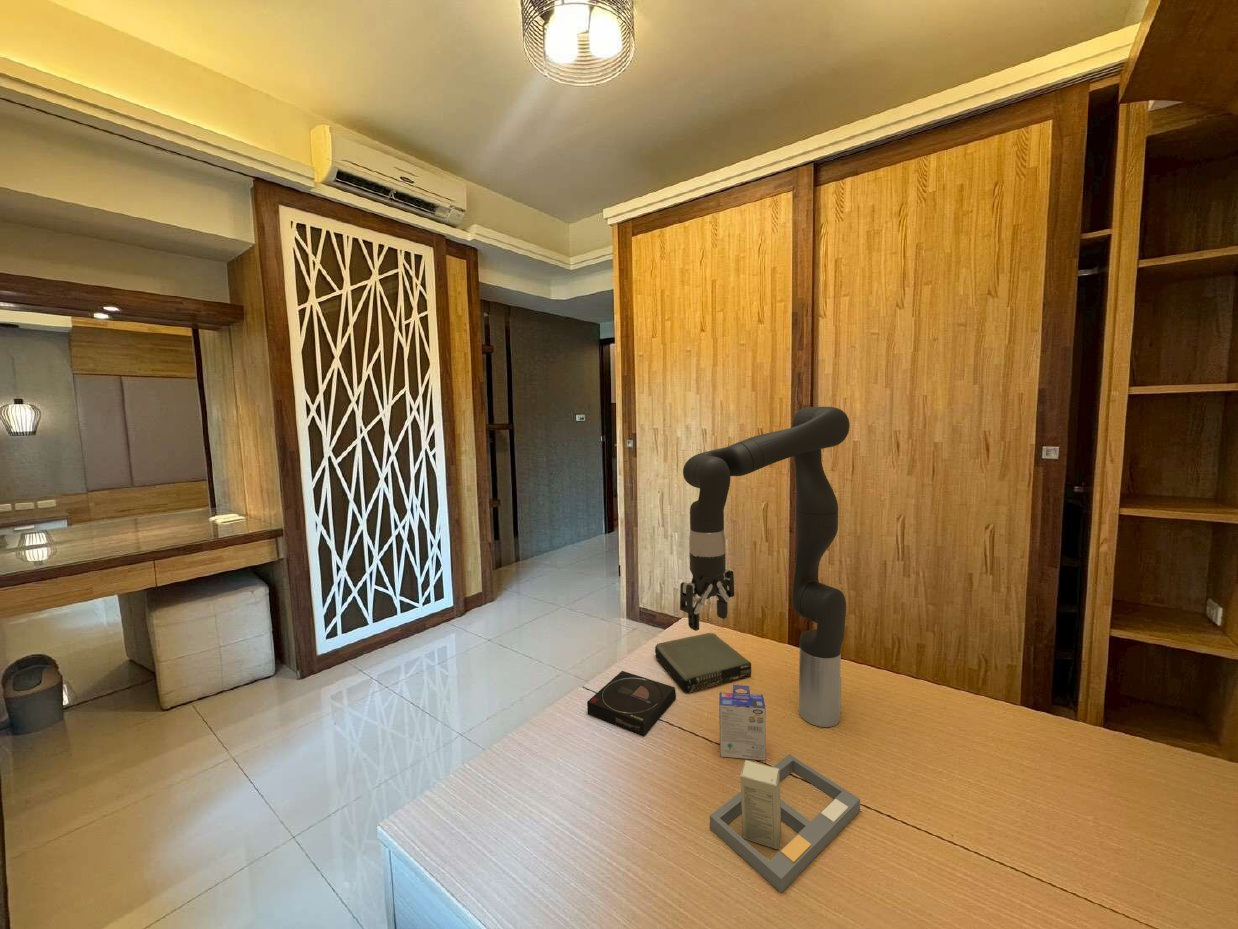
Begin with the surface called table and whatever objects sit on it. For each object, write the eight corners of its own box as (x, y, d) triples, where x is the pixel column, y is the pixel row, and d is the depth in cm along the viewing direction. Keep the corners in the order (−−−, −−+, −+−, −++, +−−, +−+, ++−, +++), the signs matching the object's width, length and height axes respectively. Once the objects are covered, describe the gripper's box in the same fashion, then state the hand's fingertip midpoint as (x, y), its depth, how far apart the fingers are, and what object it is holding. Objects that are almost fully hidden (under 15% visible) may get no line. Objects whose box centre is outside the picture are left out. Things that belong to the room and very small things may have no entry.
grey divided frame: (789, 764, 101) (789, 752, 101) (860, 811, 89) (860, 797, 89) (709, 828, 87) (709, 814, 86) (781, 893, 74) (781, 877, 74)
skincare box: (781, 831, 85) (781, 768, 84) (778, 851, 81) (778, 786, 80) (745, 818, 88) (744, 758, 87) (740, 838, 84) (739, 774, 83)
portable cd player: (676, 700, 125) (675, 686, 125) (644, 738, 111) (643, 723, 111) (623, 682, 134) (623, 669, 134) (587, 716, 120) (587, 701, 120)
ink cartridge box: (763, 744, 107) (763, 683, 106) (767, 761, 102) (767, 698, 100) (719, 740, 109) (718, 681, 108) (720, 757, 104) (719, 695, 102)
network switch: (691, 701, 125) (691, 683, 124) (646, 661, 145) (645, 645, 145) (758, 676, 135) (758, 659, 135) (707, 642, 156) (707, 627, 155)
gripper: (716, 540, 107) (717, 608, 109) (670, 553, 99) (672, 627, 101) (743, 546, 101) (743, 619, 103) (696, 561, 93) (697, 640, 95)
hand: (708, 623), depth 102 cm, fingers open, 8 cm apart
